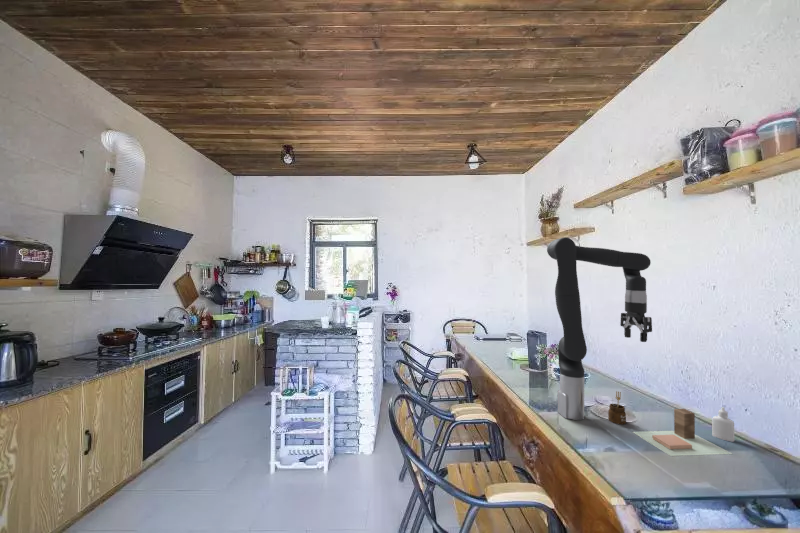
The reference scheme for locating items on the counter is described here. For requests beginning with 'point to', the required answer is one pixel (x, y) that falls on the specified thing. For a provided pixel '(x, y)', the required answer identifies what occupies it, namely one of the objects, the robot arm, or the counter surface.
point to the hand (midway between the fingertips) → (635, 339)
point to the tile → (672, 442)
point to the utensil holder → (617, 412)
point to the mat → (698, 448)
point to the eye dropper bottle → (723, 426)
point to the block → (684, 423)
